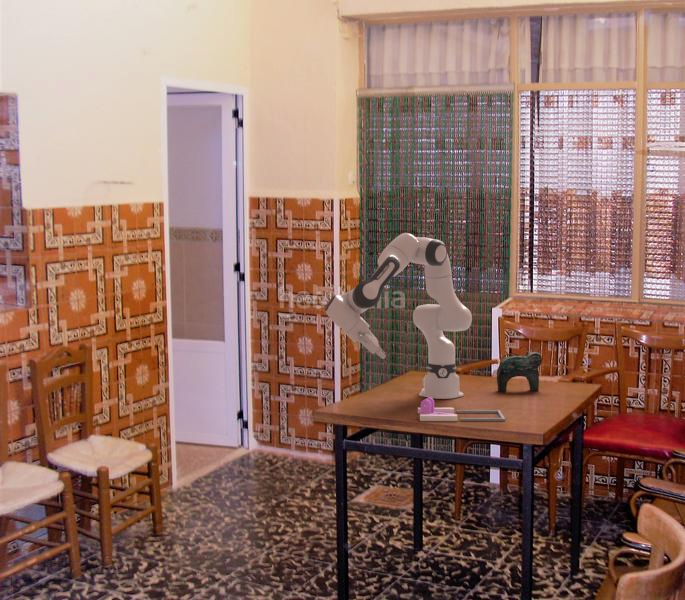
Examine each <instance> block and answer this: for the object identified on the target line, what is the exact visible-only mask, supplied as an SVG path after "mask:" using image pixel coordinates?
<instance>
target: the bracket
mask: <svg viewBox="0 0 685 600" xmlns="http://www.w3.org/2000/svg"><path fill="white" fill-rule="evenodd" d="M420 407H421V414H453V413H442V412H435V411H434V408H435V400H434V398H431V397H425V399H423V400H421V402H420Z"/></svg>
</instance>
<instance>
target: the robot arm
mask: <svg viewBox="0 0 685 600" xmlns="http://www.w3.org/2000/svg"><path fill="white" fill-rule="evenodd" d="M410 263H411V264H412V263H413V264H417V265H424V280H425V289H426V293H427V295H428V296H429V297H431V298H432V299H434V301H436V302H437V303H434V304H433V303H427V304H421V305H418V306H416V307H415V309H414V310H413V313H412V321H413V324H414V325H415V327H417V328H418V329H419V330H420V331H421V332H422V334H423V335H424V338H425V340H426V343H427V349H428V362H427V373H426V374H425V376H423V377H424V378H422V380H421V381H422V389H421V390H420V392H419V395H418V396H419V397H424V398H428V397H431V398H433V399H437V400H439V399H441V400H445V399H446V400H447V399H448V400H449V399H456V398H459V397H464V396H465V395H464V392H462V391H460V376H459V375H458V374H457V373H456V372H457V365H456V346H455V344H454V343H453V341H451V340H450V339H448V338H447V337H446V336H445V335H444V332H454V333H455V332H463V331H467V330H468V329H469V328H470V327H471V324H472V321H473V315H472V312H471V311H470V309H469V307H466V306H465V305H464V304H463V303H462V302H461V301H460V300H459V297H457V294H456V292H455V290H454V284H453V276H452V274H453V273H452V267H451V266H452V265H451V261H450V257H449V255H448V249H447V246H446V244H445V243H444V242H443V241H442V240H439V239H437V238H436V239H435V238H431V237H425V236H422V237H421V236H415V235H413V234H411V233H410V232H409V233H408V232H404V233H401V234H398V236H396V237H394V239H392V241H390V243H388V244H387V246H385V248H384V249H383V250H382V251H381V253H380V255H379V256H378V258H377V265H378V268H377V269H376V270H375V271H374V273H373V274H372V275H371V276H370V277H369V278H368V279H365V280H363V281H360V282H359V283H358V284H357V285H356V286H355V287H353V288H352V289H350V290H348V291H347V292H344V293H341V294H334V295H333V296H331V298H330V299H329V300H328V301H327V303H326V305H325V307H324V311H325V314H326V315H327V316H328V318H329V319H330V320H331V321H332V322H333V323H334V324H335V325H336V326H337V327H339V328H340V329H341V330H342V331H343V332H344V334H345V335H346V336H347V337H348V338H349V339H350V340H351V342H354V343H356V342H358V343H359V344H360V343H361V344H362V345H363V346H364V348H365V349H366V350H367V351H368V352H369V353H370V354H372V355H375V354H376V355H377V356H378V357H380V359H382V360H384V359H385V358H387V355H386V352H385V351H384V350H383V348H382V347H381V346H380V344H379V340H378V338H377V337H376V336H375V335H374V334H373V333H372V331H371V330H370V327H371V325H370V324H369V323H368V322H367V321H366V320H365V319H364V318H363V317H362V316H361V314H363V313H364V312H366V311H367V310H369V309H370V308H373V307H374V306H375V305H377V304H378V303H379V301H380V299H381V297H382V296H381V295H382V292H383V289H384V288H385V286H386V285H387V284H388V282H389V281H390V280H391V279H392V278H393V277H396V276H397V275H398V274H400V273H401V272H402V271H403V270H404V269H405V268H407V266H408V265H409V264H410Z"/></svg>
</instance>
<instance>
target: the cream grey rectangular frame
mask: <svg viewBox="0 0 685 600" xmlns="http://www.w3.org/2000/svg"><path fill="white" fill-rule="evenodd" d="M434 411H435V412H442V413H453V414H421V406H420V407H417V414H418V415H419V422H458V414H497V415H498V416H499V417H460V418H459V422H506V418H505V416H504V414H503V413H502V411H501V410H500V409H495V410H494V409H493V410H492V409H491V410H490V409H486V410H485V409H471V410H470V409H456V411H455V408H454V407H434Z"/></svg>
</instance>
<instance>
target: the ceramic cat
mask: <svg viewBox="0 0 685 600" xmlns="http://www.w3.org/2000/svg"><path fill="white" fill-rule="evenodd" d="M523 347H526V348H527V349H529V347H528V346H527V345H525V344H524V345H521V346H519V349H522V348H523ZM525 353H526V354H524V355H520V354H517V353H513V352H511V353H506V354H504V355H503V356H502V357H501V359H500V361H499V364H498V368H497V370H496V382H497V384H496V385H497V391H498V392H499V393H503V392H504V393H506V392H507V385H508V382H509V381H511V379H513V378H515V377H517V378H518V377H522V378H523V377H524V378H526V380H527V383H528V386H529V391H530V392H539V386H540V375H539V367H540V366H541V365H542V363H543V357H542V354H541V353H540V350H539V348H537V349H536V350H535V351H532V352H531V351H529V350H526V351H525ZM509 355H513V356H509ZM506 356H507V357H506ZM504 357H505V358H504Z"/></svg>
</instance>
